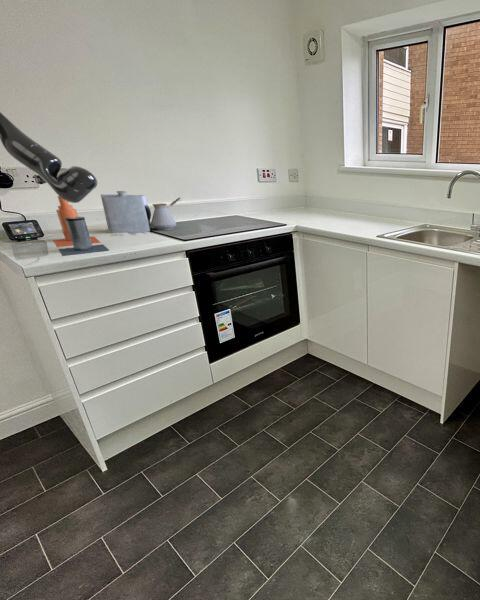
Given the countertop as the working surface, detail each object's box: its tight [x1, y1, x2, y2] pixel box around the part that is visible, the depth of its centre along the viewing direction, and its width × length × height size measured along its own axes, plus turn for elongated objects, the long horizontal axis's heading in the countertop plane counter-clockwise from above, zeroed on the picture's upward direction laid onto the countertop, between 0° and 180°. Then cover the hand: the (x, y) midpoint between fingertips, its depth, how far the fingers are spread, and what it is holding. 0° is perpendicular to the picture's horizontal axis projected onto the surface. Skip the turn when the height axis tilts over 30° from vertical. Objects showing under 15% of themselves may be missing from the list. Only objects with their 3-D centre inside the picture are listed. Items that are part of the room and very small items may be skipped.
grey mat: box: [58, 244, 110, 257], centre depth 140 cm, size 14×12×1 cm
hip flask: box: [100, 190, 151, 234], centre depth 171 cm, size 16×4×20 cm, turn 131°
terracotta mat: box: [53, 236, 102, 248], centre depth 152 cm, size 14×17×1 cm
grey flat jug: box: [100, 193, 152, 230], centre depth 179 cm, size 19×5×18 cm, turn 105°
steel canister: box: [64, 216, 93, 251], centre depth 137 cm, size 6×6×12 cm
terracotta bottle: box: [55, 195, 79, 241], centre depth 151 cm, size 6×6×19 cm
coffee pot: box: [150, 197, 181, 231], centre depth 188 cm, size 21×12×15 cm, turn 172°
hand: (62, 178), depth 123 cm, fingers open, 8 cm apart
